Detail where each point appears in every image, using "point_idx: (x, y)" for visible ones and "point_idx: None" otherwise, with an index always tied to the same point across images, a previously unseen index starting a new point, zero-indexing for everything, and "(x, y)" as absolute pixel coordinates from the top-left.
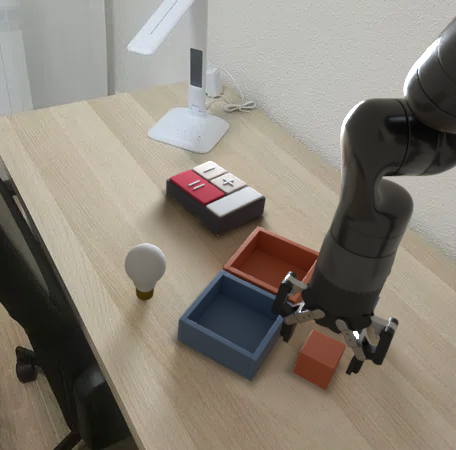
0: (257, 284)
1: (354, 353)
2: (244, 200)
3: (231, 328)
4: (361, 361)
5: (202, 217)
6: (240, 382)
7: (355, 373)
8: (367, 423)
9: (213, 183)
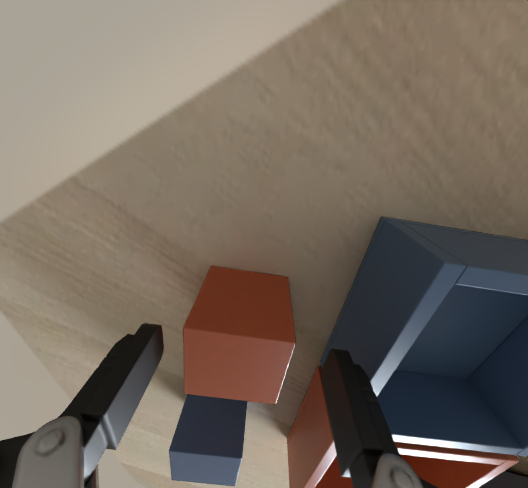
0: (427, 447)
1: (77, 452)
2: None
3: (442, 322)
4: (81, 401)
5: (503, 480)
6: (408, 202)
7: (129, 335)
8: (102, 227)
9: None
